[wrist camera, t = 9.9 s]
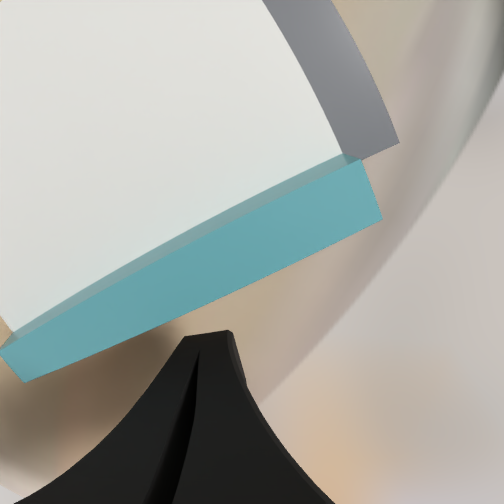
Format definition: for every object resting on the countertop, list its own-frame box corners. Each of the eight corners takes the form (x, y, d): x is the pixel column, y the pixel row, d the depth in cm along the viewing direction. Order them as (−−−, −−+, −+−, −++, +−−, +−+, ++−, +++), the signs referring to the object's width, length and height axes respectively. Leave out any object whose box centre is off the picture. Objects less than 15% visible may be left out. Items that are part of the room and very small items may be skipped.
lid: (52, 340, 9) (24, 383, 7) (-67, 119, 6) (-112, 128, 4) (345, 192, 8) (383, 219, 6) (182, -88, 4) (169, -133, 2)
